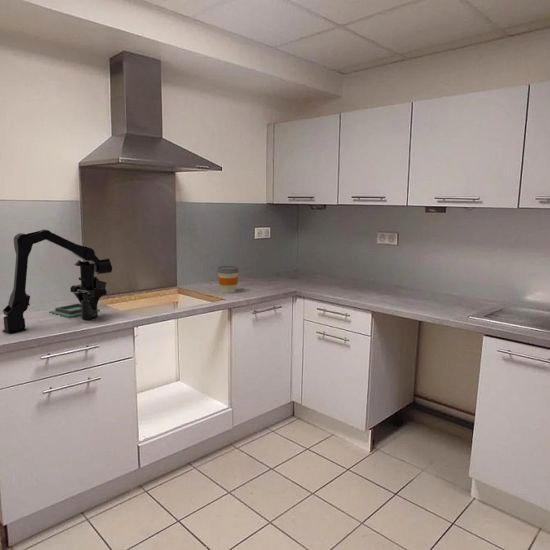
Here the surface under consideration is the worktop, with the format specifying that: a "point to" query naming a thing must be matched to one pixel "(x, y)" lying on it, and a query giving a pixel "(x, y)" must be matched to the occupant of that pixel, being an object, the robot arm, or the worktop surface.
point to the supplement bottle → (88, 308)
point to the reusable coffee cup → (228, 278)
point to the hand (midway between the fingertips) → (89, 308)
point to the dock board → (68, 311)
